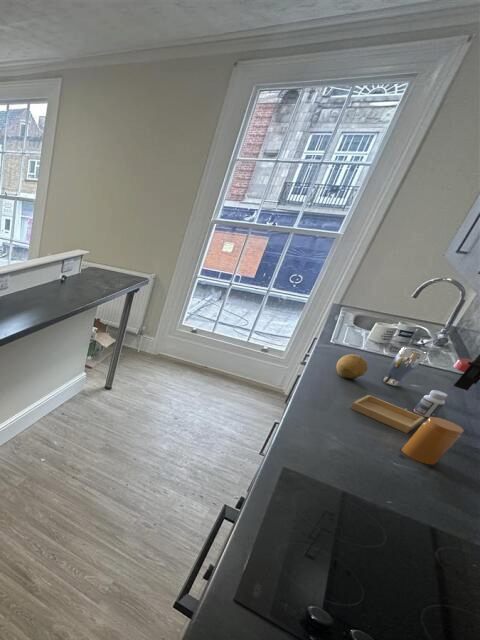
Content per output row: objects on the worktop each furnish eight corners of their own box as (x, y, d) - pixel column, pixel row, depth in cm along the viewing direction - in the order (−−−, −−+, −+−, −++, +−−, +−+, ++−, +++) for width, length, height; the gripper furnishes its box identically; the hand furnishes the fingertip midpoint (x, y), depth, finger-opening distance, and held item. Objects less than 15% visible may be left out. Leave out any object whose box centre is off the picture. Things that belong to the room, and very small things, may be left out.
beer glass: (380, 377, 166) (403, 344, 159) (402, 384, 162) (427, 351, 154) (377, 381, 162) (401, 348, 155) (400, 389, 158) (425, 355, 150)
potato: (375, 356, 161) (347, 346, 165) (373, 367, 152) (344, 356, 157) (358, 375, 166) (332, 365, 171) (355, 387, 158) (328, 376, 163)
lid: (458, 362, 114) (463, 356, 113) (501, 376, 108) (507, 369, 107) (448, 367, 110) (454, 360, 109) (492, 382, 104) (499, 375, 103)
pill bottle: (429, 413, 143) (447, 392, 138) (435, 420, 139) (453, 398, 134) (410, 408, 145) (427, 387, 141) (415, 414, 141) (432, 393, 137)
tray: (420, 423, 136) (424, 417, 135) (406, 433, 130) (411, 427, 128) (364, 400, 147) (368, 394, 146) (349, 408, 141) (353, 402, 140)
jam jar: (426, 452, 121) (454, 421, 115) (441, 467, 115) (472, 435, 109) (396, 444, 123) (422, 413, 117) (409, 459, 117) (437, 427, 111)
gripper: (516, 298, 107) (456, 371, 119) (499, 306, 97) (435, 385, 109) (560, 307, 102) (493, 383, 113) (546, 317, 92) (474, 399, 103)
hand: (464, 384), depth 111 cm, fingers closed on lid, 8 cm apart
